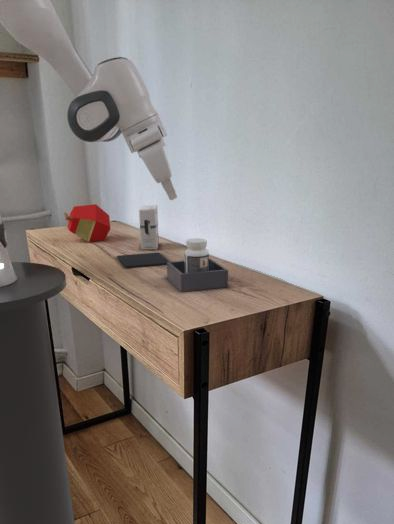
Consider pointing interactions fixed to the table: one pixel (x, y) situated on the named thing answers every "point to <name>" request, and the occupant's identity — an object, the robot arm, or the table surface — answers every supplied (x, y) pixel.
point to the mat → (142, 260)
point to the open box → (197, 276)
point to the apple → (89, 222)
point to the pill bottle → (196, 256)
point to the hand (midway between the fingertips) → (173, 196)
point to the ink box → (149, 227)
